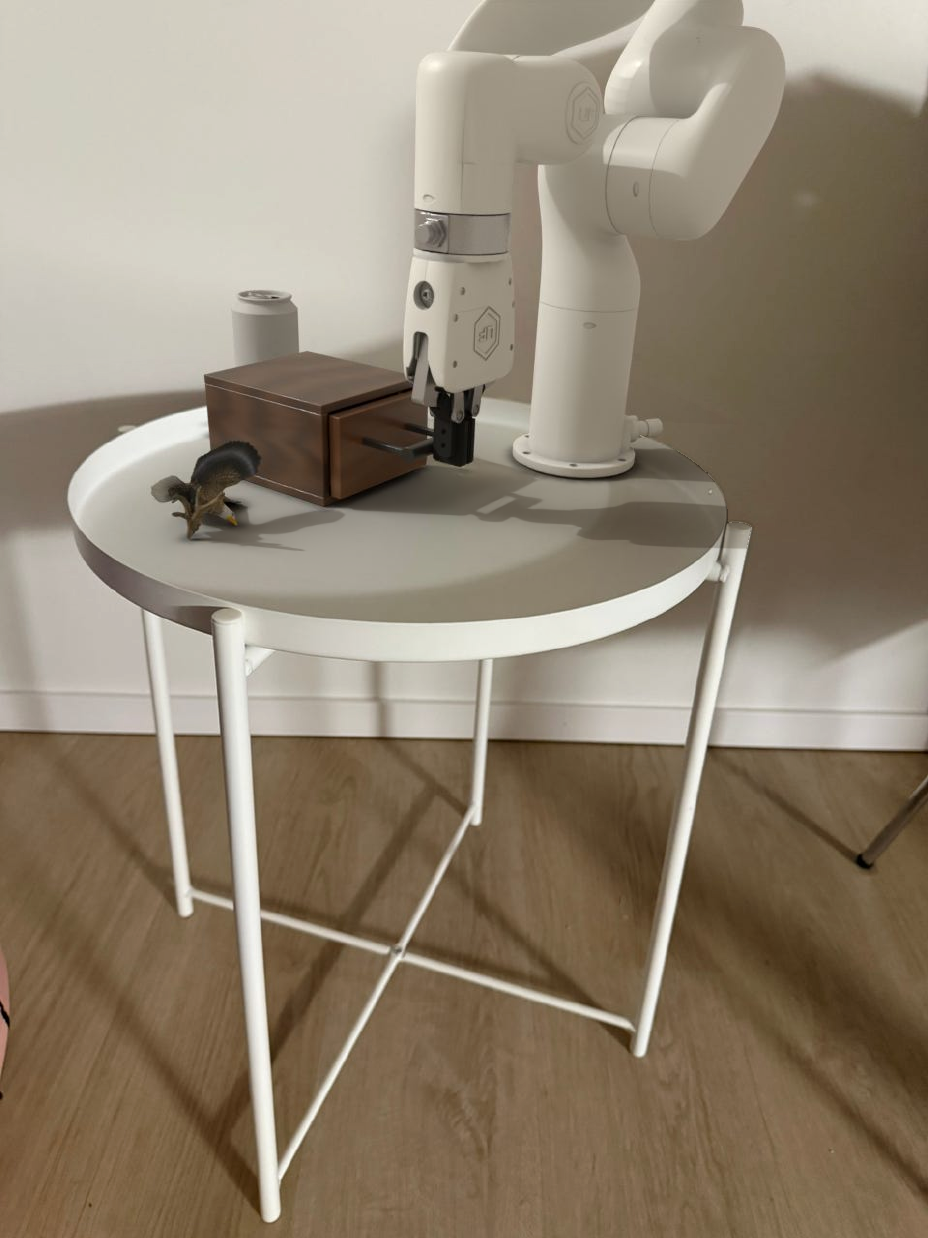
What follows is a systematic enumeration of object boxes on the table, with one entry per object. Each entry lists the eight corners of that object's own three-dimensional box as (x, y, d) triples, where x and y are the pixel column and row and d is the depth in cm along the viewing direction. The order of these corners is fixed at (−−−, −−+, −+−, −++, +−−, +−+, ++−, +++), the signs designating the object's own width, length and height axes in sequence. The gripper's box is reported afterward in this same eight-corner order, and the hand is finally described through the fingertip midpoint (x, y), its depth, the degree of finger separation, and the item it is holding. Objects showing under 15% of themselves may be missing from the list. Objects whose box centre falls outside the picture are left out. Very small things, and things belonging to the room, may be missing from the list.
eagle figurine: (256, 532, 76) (283, 475, 83) (197, 463, 73) (230, 409, 80) (186, 568, 79) (217, 510, 86) (126, 503, 76) (163, 448, 83)
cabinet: (418, 468, 95) (420, 376, 90) (323, 506, 85) (321, 405, 80) (310, 437, 102) (307, 350, 98) (211, 468, 92) (203, 374, 88)
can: (305, 404, 113) (301, 298, 107) (240, 406, 111) (233, 299, 105) (296, 387, 119) (292, 286, 113) (234, 389, 117) (227, 287, 111)
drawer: (476, 478, 90) (480, 402, 87) (393, 516, 81) (393, 432, 78) (324, 435, 100) (322, 364, 96) (234, 464, 91) (228, 388, 87)
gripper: (444, 249, 67) (437, 495, 76) (551, 234, 78) (534, 450, 87) (362, 238, 71) (364, 474, 79) (475, 224, 82) (466, 433, 90)
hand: (452, 461), depth 83 cm, fingers closed
